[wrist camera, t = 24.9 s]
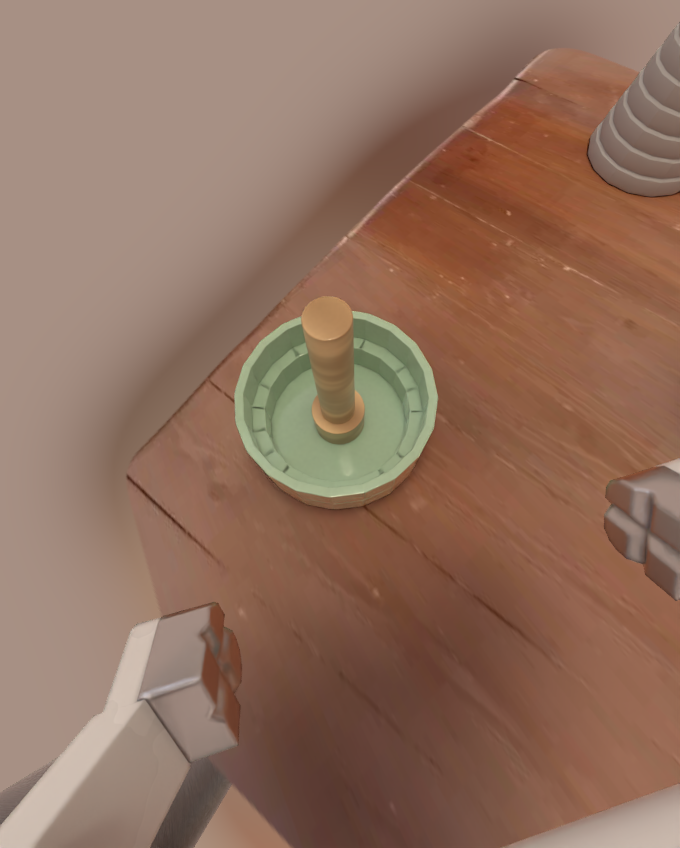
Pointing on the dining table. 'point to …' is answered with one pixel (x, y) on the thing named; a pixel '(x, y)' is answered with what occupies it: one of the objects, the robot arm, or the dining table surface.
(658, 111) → the soap bottle
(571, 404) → the dining table surface
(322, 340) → the muddler
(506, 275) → the dining table surface
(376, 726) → the dining table surface
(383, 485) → the mixing bowl
